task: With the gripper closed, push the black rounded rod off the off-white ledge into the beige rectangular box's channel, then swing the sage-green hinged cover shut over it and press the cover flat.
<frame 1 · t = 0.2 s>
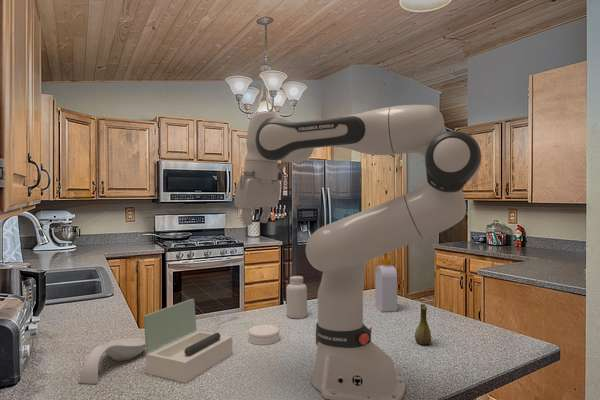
hand: (256, 223, 106), 38 cm above the countertop, tool pointing down, fingers open, 8 cm apart
scissors: (218, 325, 142), on the countertop
soap bottle: (385, 309, 160), on the countertop
olive green bottle shape: (422, 343, 122), on the countertop
duct cover: (172, 323, 111), point 10 cm above the countertop, hinge at 95.0°
beige rectangular box: (189, 362, 108), on the countertop
pill bottle: (296, 316, 151), on the countertop
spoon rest: (115, 365, 107), on the countertop
beige short cylinder: (264, 340, 126), on the countertop
black rounded rod: (203, 347, 106), point 5 cm above the countertop, touching beige rectangular box
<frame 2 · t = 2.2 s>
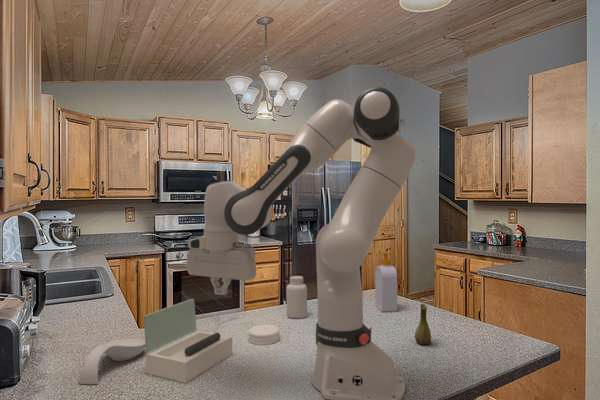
hand: (220, 294, 104), 20 cm above the countertop, tool pointing down, fingers closed
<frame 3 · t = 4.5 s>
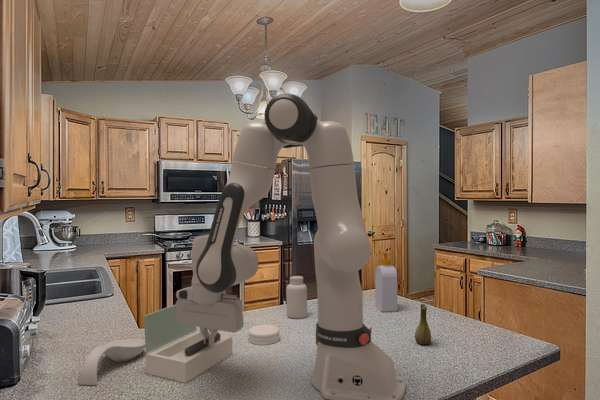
hand: (209, 343, 105), 6 cm above the countertop, tool pointing down, fingers closed
black rounded rod: (203, 347, 106), point 5 cm above the countertop, touching beige rectangular box, gripper
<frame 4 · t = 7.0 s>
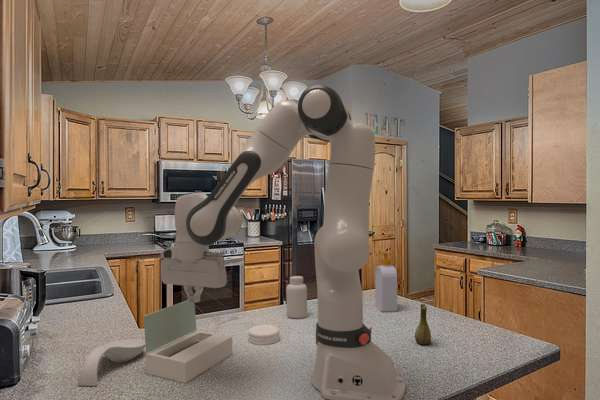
hand: (194, 301, 107), 17 cm above the countertop, tool pointing down, fingers closed
black rounded rod: (183, 356, 109), point 1 cm above the countertop, touching beige rectangular box
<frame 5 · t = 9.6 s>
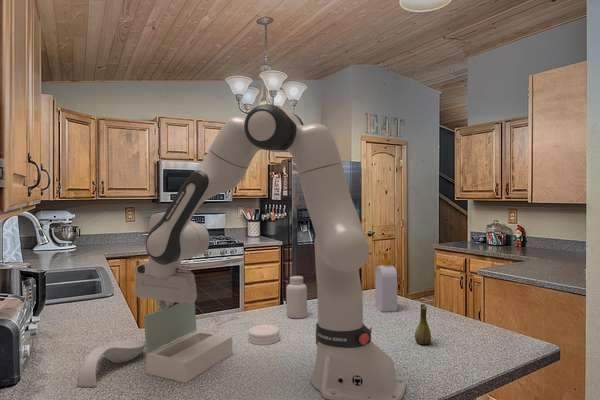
hand: (165, 315, 112), 12 cm above the countertop, tool pointing down, fingers closed
duct cover: (172, 323, 111), point 10 cm above the countertop, hinge at 94.4°, touching gripper
black rounded rod: (184, 354, 109), point 2 cm above the countertop, tilted 55°, touching beige rectangular box
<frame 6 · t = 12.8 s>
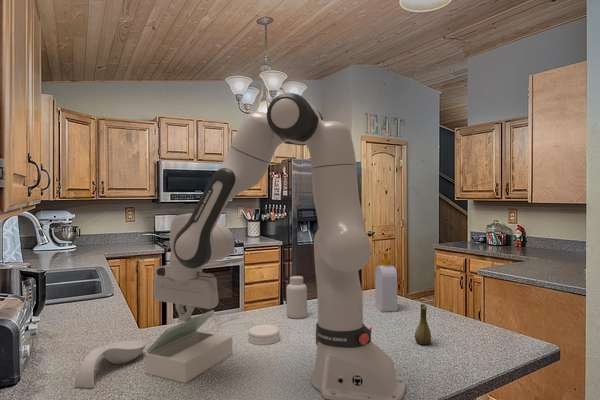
hand: (184, 320, 108), 12 cm above the countertop, tool pointing down, fingers closed
duct cover: (182, 330, 109), point 9 cm above the countertop, hinge at 43.5°, touching gripper
black rounded rod: (187, 351, 108), point 3 cm above the countertop, tilted 121°, touching beige rectangular box
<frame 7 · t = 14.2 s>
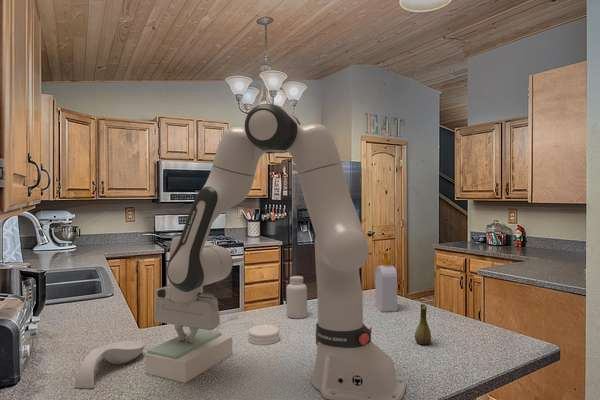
hand: (186, 341, 108), 6 cm above the countertop, tool pointing down, fingers closed on duct cover
duct cover: (186, 342, 109), point 5 cm above the countertop, hinge at -0.1°, touching beige rectangular box, gripper
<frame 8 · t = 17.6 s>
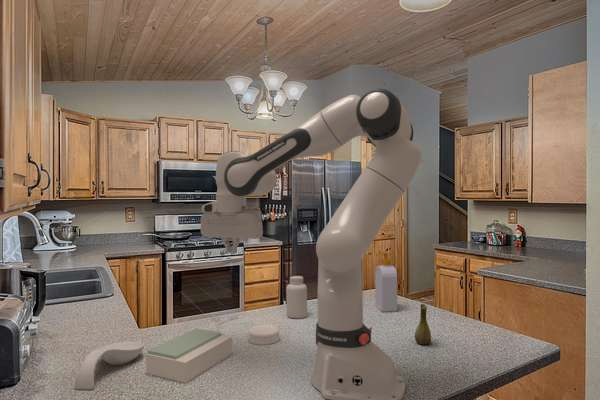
hand: (231, 252, 117), 29 cm above the countertop, tool pointing down, fingers closed
duct cover: (186, 342, 109), point 5 cm above the countertop, hinge at -0.1°, touching beige rectangular box
black rounded rod: (186, 351, 109), point 3 cm above the countertop, tilted 104°, touching beige rectangular box
at the end: black rounded rod inside the target area on the beige rectangular box (0.0 cm from its centre), point 2.7 cm above the beige rectangular box's base; duct cover at +0° (first picture: +95°) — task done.
